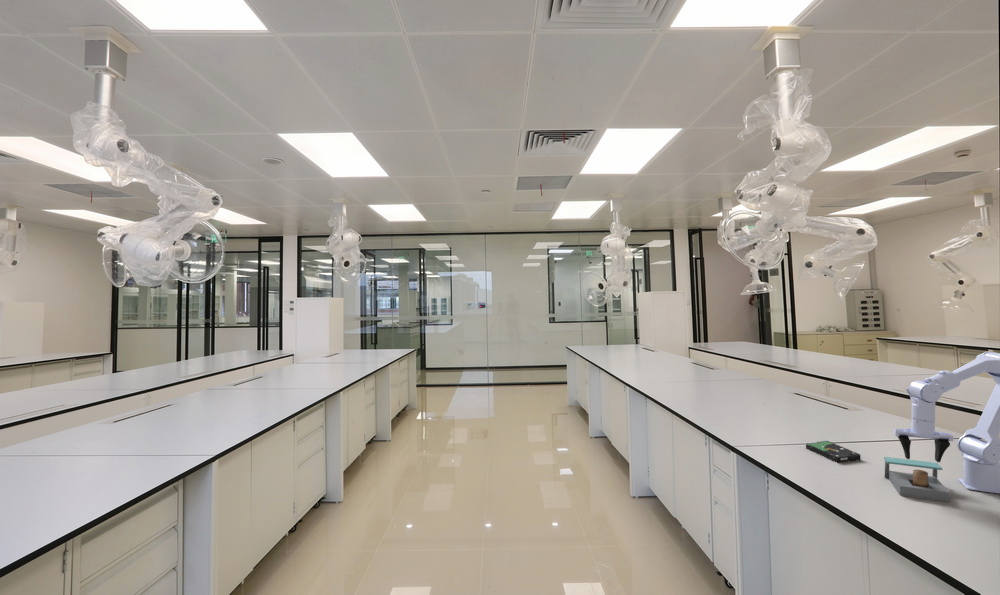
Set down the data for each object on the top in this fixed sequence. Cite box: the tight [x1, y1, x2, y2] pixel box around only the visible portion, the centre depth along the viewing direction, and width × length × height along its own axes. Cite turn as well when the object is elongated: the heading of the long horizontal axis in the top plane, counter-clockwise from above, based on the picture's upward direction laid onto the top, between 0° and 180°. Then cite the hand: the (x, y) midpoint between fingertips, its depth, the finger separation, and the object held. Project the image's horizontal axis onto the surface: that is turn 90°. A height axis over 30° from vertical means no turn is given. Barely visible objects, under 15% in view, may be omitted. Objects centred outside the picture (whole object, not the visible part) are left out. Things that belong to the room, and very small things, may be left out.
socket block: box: [888, 470, 951, 503], centre depth 154 cm, size 12×12×3 cm
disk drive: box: [805, 440, 862, 464], centre depth 184 cm, size 10×3×15 cm
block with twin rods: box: [883, 456, 943, 479], centre depth 159 cm, size 14×4×7 cm, turn 64°
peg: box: [912, 469, 929, 488], centre depth 152 cm, size 4×4×7 cm
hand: (922, 459), depth 155 cm, fingers open, 7 cm apart
